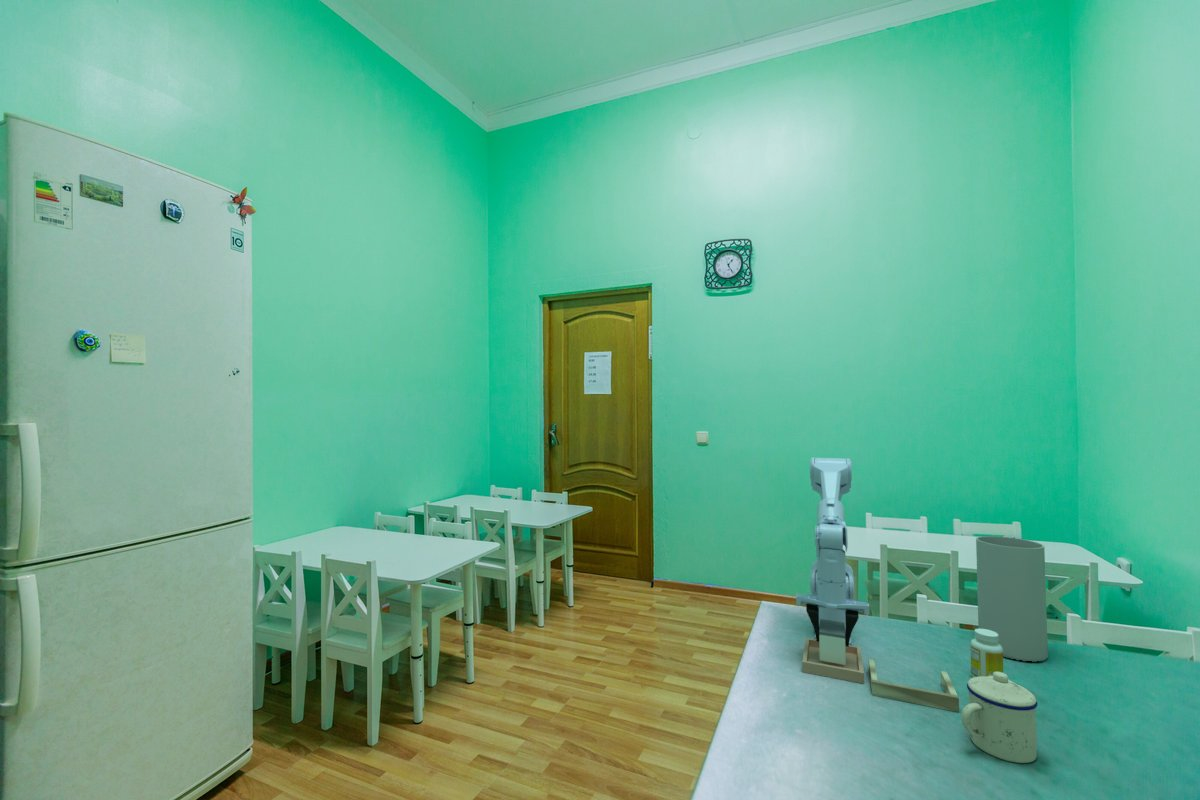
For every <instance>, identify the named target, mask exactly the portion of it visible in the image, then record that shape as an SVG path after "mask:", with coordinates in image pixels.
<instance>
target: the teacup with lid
mask: <svg viewBox="0 0 1200 800" xmlns="http://www.w3.org/2000/svg"><path fill="white" fill-rule="evenodd" d="M966 688H967V690H968V704H966V705H965V706H964V707H963V709H962V711H961V717H960V718H961V723H962V726H963V728H964V729H965V731H966V732H967V733H968V734H969V738H970V740H971V741H972V743H973V744H974V745H975V746H976V747H977V748H978V749H980V750H982V751H983V752H985V753H986V754H988V755H990V756H992V757H996V758H997V759H1001V760H1003V761H1007V762H1013V763H1018V764H1027V763H1029V764H1030V763H1032V762H1034V761H1035V760H1036V759H1037V757H1038V744H1037V743H1038V742H1037V740H1038V739H1037V712H1036V711H1037V710H1036V708H1037V707H1038V705H1039V704H1038V701H1037V699H1036V697H1035V695H1034V694H1033V693H1032V692H1031V691H1030V690H1028V689H1027V688H1026V687H1023V686H1022V685H1019V684H1017V683H1015V682H1014V681H1012V680H1010V679H1009V676H1008V674H1006V673H1004V672H1003V673H1002V672H994V673H993V676H987V677H985V676H979V677H971V678H970V679H968V681H967V683H966Z"/></svg>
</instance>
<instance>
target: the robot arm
mask: <svg viewBox="0 0 1200 800" xmlns="http://www.w3.org/2000/svg"><path fill="white" fill-rule="evenodd" d="M852 467H853V466H852V460H851V459H850V458H849V457H847V458H842V457H841V458H840V457H839V458H837V457H833V458H832V457H814V456H812V457H811V458H810V459H809V478H810V486H811V487H812V488H811V489H812V490H813V491H814V492H815V493H817V494H819V497H820V499H821V500H820V501H819V502H818V503H817V513H816V514H817V516H816V517H817V518H816V519H817V521H816V523H817V524H816V525H815V526H814V546H815V552H816V558H817V559H816V561H814V562H812V563H811V565H810V566H811V567H810V577H809V579H810V581H809V582H810V587H809V588H810V589H809V590H810V594H809V593H808V594H807V593H806V594H805V593H804V594H803V593H796V597H795V602H796V603H795V606H806V608H805V610H806V611H805V612H806V614H807V616H808V618H809V620H810V623H811V624H812V628H813V631H814V639H815V638H816V641H817V642H819V628H820V619H825V620H832V621H838V622H844V624H845V646H847V647H849V645H852V637H851V635H852V633H853V630H854V629H855V626H856V624H857V623H858V621H859V617H860V616H859V613H860V614H863V615H866V616H870V603H868V602H863V601H858V600H854V599H855V579H854V571H853V568H852V567H851V565H849V564H848V563H846V562H847V561H846V560H847V558H846V553H847V551H848V547H849V546H848V545H849V543H848V528H847V524H846V520H845V519H846V518H845V506H844V504H843V503H842V502H841V500H842V498H843V495H845V494H848V493H850V492H851V488H852V480H853V479H852V478H853V475H852V471H853V470H852V469H853V468H852ZM843 546H844V547H845V550H844V548H843Z"/></svg>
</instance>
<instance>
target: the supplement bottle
mask: <svg viewBox="0 0 1200 800" xmlns="http://www.w3.org/2000/svg"><path fill="white" fill-rule="evenodd" d="M973 634H974V638H973V639H971V641H970V675H971V678H973V677H979V676H985V677H987V676H993V673H994V672H1002V673H1004V657H1003V648H1002V647H1001V645H1000V644H998V643H997V642H998V641H999V635H998V634H997V633H996V632H994V631H991V630H987V629H978V628H975V629H974V633H973Z"/></svg>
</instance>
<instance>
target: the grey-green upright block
mask: <svg viewBox="0 0 1200 800" xmlns="http://www.w3.org/2000/svg"><path fill="white" fill-rule="evenodd" d="M819 651H820V660H821V661H826V662H832V663H837V664H843V665H846V659H845V624H844V622H838V621H832V620H825V619H820V628H819Z"/></svg>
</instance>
